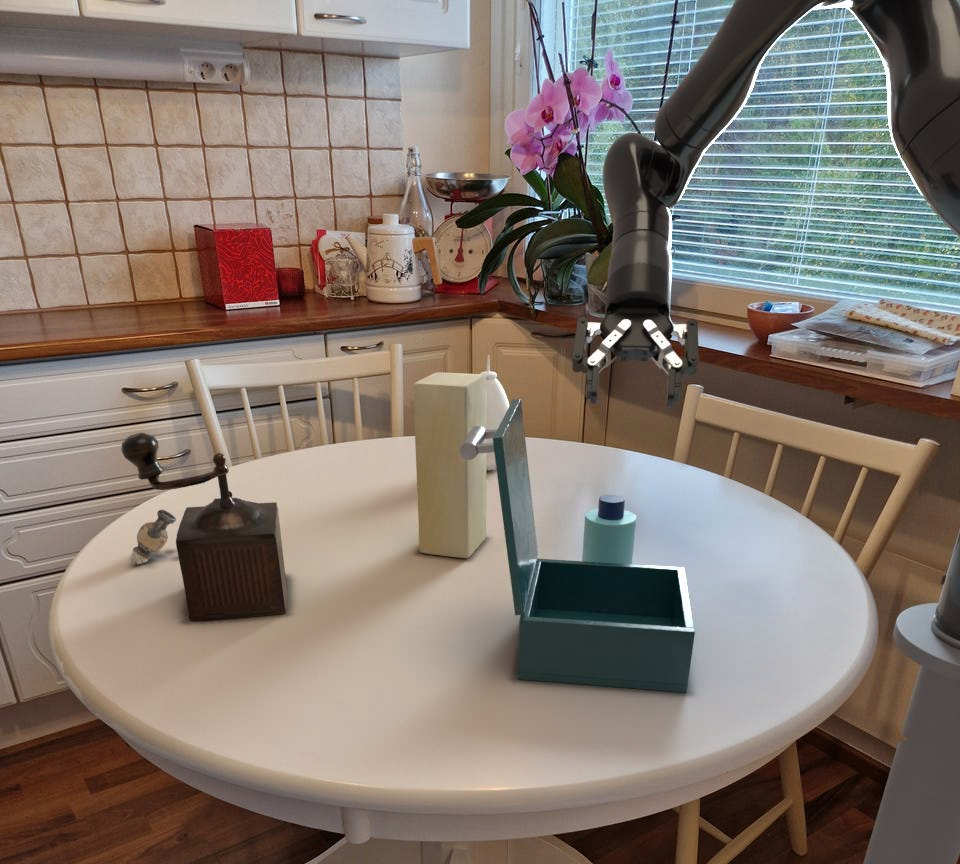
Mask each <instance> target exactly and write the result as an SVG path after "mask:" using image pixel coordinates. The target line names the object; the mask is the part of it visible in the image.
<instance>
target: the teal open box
mask: <svg viewBox="0 0 960 864" xmlns="http://www.w3.org/2000/svg"><path fill="white" fill-rule="evenodd" d="M692 613H693V612H692V606H691V600H690V594H689V588H688V581H687V576H686V570H685V567H681V566H667V565H666V566H664V565H649V564H634V563H632V564H618V563H602V562H586V561H582V560H567V559H554V558H553V559H551V558H550V559H549V558H537V560H536V564H535V568H534V573H533V577H532V581H531V586H530V590H529V594H528V599H527V603H526V607H525V612H524V615H519V620H518V621H519V624H518V652H517V653H518V657H517V679H518V680H524V681H535V682H536V681H537V682H550V683H559V684H560V683H562V684H575V685H585V686H586V685H588V686H599V687H611V688H612V687H613V688H623V689H625V688H626V689H638V690H649V691H662V692H674V693H687V692H688V685H689V678H690V671H691V664H692V657H693V650H694V644H695V635H696V630H695V624H694V617H693V614H692Z"/></svg>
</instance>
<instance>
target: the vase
mask: <svg viewBox="0 0 960 864" xmlns="http://www.w3.org/2000/svg"><path fill="white" fill-rule="evenodd" d="M130 518H131V516H130ZM175 522H177V518H176V517H175V516H174V515H173V514H172V513H171V512H169V511H167V510H165V509H159V510H158V511H157V519H156V520H155V521H149V522H145V523H144V524H142V525H141V526H140V528H139V529H138V531H137V535H136V541H137V542H136V543H137V546H135V547H133V548H132V551H131V552H132V553H131V555H130V556H129V557H130V558H131V565H140V564H143V563H147V562H148V561H149V560H150V559H151V553H156V552H158V551H160V550H161V549H163V548H164V547H165V545H166V544H167V542H168V540H169V535H168V531H167V528H168V526H169V525H171V524H172V525H173V524H174V523H175Z"/></svg>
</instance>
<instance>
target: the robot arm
mask: <svg viewBox="0 0 960 864" xmlns="http://www.w3.org/2000/svg"><path fill="white" fill-rule="evenodd" d="M833 8H846V9H847V10H849V11H850V12H851V13H852V14H853V15H854V17H855V18H856V19H857V21H858V22H859V24H861V26H862V28H863V29H864V31H865V32H866V33H867V35H868V37H869V38H870V40H871V41H872V43H873V44H874V46H875V48H876V50H877V52H878V54H879V56H880V58H881V61H882V64H883V66H884V70H885V75H886V76H885V77H886V89H887V90H886V91H887V92H886V93H887V115H888V117H887V119H888V126H889V132H890V137H891V141H892V145H893V146H894V148H895V151H896V153H897V154H898V157H899V159H900V161H901V162H902V165H903V166H904V169H906V171H907V173H908V175H909V176H910V178H911V180H912V182H913V184H914V185H915V187H916V189H917V190H918V192H919V193H920V195H921V196H922V198H923V199H924V201H925V202H926V204H927V205H928V206H929V207H930V209H931V210H932V211H933V213H934V214H935V215H936V216H937V217H938V218H939V219H940V220H941V221H942V222H943V224H945V225H946V226H947V227H948V228H949V229H950V230H951V231H952V232H953V233H954V234H955V235H956V236H957V237H958V238H960V3H959V1H958V0H734V2H733V4H732V6H731V8H730V9H729V11H728V12H727V15H726V16H725V18H724V19H723V21H722V23H721V25H720V27H719V28H718V30H717V32H716V33H715V34H714V36H713V38H712V40H711V41H710V43H709V44H708V45H707V47H706V49H705V50H704V52H702V54H701V56H700V57H699V59H698V60H697V61H696V62H695V63H694V65H693V66H692V68H691V69H690V70H689V72H688V73H687V74H686V75H685V76H684V77H683V79H682V80H681V82H679V83H678V85H677V86H676V88H675V89H674V90H673V92H672V93H671V94H670V95H669V97H668V98H667V99H666V100H665V102H664V103H663V105H662V106H661V107H660V109H659V110H658V112H657V114H656V116H655V119H654V124H653V127H654V128H653V129H654V134H655V138H656V140H653V139H651V138H649V137H648V136H646V135H643V134H641V133H639V132H627V133H624V134H622V135H620V136H618V137H617V138H616V139H615V140H614V141H613V142H612V144H610V147H609V149H608V151H607V152H606V155H605V157H604V158H605V159H604V162H603V166H602V168H603V169H602V186H603V192H604V195H605V200H606V203H607V207H608V211H609V215H610V216H609V217H610V220H611V223H612V226H613V229H612V242H611V252H610V253H611V254H610V257H609V262H608V269H607V279H606V295H605V309H604V317H603V319H602V320H601V322H593V321H589V318H588V317H586V316H585V315H583V316H579V318H578V319H577V322H576V329H575V335H574V341H573V348H572V354H571V356H572V357H571V359H572V360H571V361H572V362H571V363H572V364H571V368H572V369H571V370H572V371H573V372H574V373H583V374H584V375H585V377H586V378H585V391H584V392H585V395H584V396H585V398H586V400H590V405H598V393H599V379H600V373H601V372H602V371H603V370H604V369H605V368H608V367H609V366H610V365H611V364H612V363H613V362H614V361H615V360H617V358H618V359H620V361H624V362H625V361H626V362H629V361H633V360H635V361H639V362H648V360H650V359H651V360H652V361H653V362H654V364H655V365H656V366H657V367H658V368H659V369H662V370H663V371H664V372H665V373H666V375H667V381H666V398H665V399H666V400H665V407H668V408H672V407H673V405H674V403H678V401H679V399H680V396H681V390H682V389H681V388H682V387H681V386H682V377H683V376H689V377H693V376H694V375H696V374H697V367H698V364H699V360H700V352H699V351H700V350H699V325H698V324H699V323H698V320H697V319H696V318H689V319H688V320H687V321H686V323H673V321H672V320H671V299H672V298H671V297H672V283H673V280H672V278H673V277H672V276H673V275H672V274H673V260H672V252H671V251H672V250H671V249H672V232H673V231H672V230H673V222H672V214H671V211H670V209H672V208H674V207H675V206H676V205H677V204H678V203H679V202H680V200H681V198H682V196H683V194H684V193H685V190H686V189H687V187H688V186H687V185H688V184H689V182H690V180H691V178H692V175H693V174H694V172H695V169H696V168H697V166H698V164H699V162H700V161H701V159H702V157H703V155H704V154H705V152H706V151H707V150H708V148H709V147H711V145H712V144H713V143H714V142H715V140H716V139H717V138H719V136H720V135H721V134H722V133H723V132H724V131H725V130H726V128H727V127H728V126H729V125H730V124H731V123H732V122H733V120H735V118H736V117H737V116H738V114H739V113H740V112H741V110H742V109H743V107H744V106H745V104H746V103H747V100H748V98H749V97H750V94H751V92H752V91H753V88H754V85H755V81H756V79H757V76H758V73H759V70H760V68H761V64H762V63H763V61H764V60H765V57H766V56H767V54H768V53H769V51H770V50H771V49H772V47H773V46H774V45H775V44H776V42H777V41H778V40H779V39H780V38H781V37H782V36H783V35H784V34H785V33H786V32H787V31H788V30H790V29H791V28H792V27H793V26H794V25H795V24H796V23H798V22H799V21H800V20H801V19H802V18H803V17H805V16H806V15H807V14H808V13H810V12H811V11H812V10H819V9H822V10H823V9H833ZM597 335H599V336H600V338H601V340H602V342H600V344H599V346H598V348H597V349H596V350H595V351H594V352H593V353H592V354H591V355H590V356H587V355H585V354H586V348H587V344H591V342H592V341H594V339H595V337H596V336H597ZM672 337H675V338H677V341H678V342H679V343H680V345H681V346H684V358H682V359H681V358H680V357H679V355H678V354H677V353H676V352H675V351H674V348H673V345H672V344H671V343H670V340H671V339H672ZM951 554H952V555H951V558H950V562H949V565H948V568H947V572H946V574H944V575H942V578H941V582H940V586H941V585H943V586H942V589H941V592H940V596H939V599H938V602H937V603H938V606H937V608H936V611H935V615H934V617H933V619H932V623H931V630H932V632H933V633H934V635H935V636H936V637H938V638H939V639H940V640H942V641H943V642H945V643H946V644H948V645H950V646H952V647H955V648H957V649H960V529H959V530H958V534H957V536H956V541H955V544H954V548H953V550H952V553H951Z"/></svg>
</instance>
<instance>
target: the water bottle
mask: <svg viewBox="0 0 960 864" xmlns="http://www.w3.org/2000/svg"><path fill="white" fill-rule="evenodd" d="M625 503H626V499H625V497H624V496H621V495H618V494H603V495H601V496H599V498H598V507H597V508H593V509H590V510H588V511H587V512H586V513H585V514H584V526H583V540H582V541H583V543H582V554H581V555H582V556H581V561H586V562H602V563H618V564H633V557H634V546H635V537H636V525H637V515H636V514H635V513H634V512H631V511H629V510H628V509H627V510H626V509H625V507H626V505H625Z"/></svg>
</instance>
